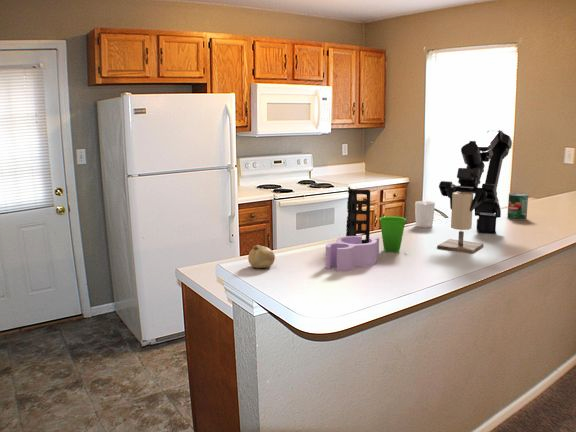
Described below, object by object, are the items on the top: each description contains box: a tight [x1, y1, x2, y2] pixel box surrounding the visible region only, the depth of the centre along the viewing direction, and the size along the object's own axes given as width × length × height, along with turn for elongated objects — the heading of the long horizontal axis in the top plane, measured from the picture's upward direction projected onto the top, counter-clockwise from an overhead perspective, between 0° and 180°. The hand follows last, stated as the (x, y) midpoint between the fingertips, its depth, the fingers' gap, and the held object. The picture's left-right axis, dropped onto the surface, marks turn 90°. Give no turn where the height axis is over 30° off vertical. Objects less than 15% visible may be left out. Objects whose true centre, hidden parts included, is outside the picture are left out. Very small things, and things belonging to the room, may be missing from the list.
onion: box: [247, 244, 276, 269], centre depth 154 cm, size 8×8×7 cm
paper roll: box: [450, 192, 474, 231], centre depth 175 cm, size 6×6×12 cm
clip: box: [325, 234, 380, 272], centre depth 158 cm, size 20×12×7 cm, turn 139°
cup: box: [378, 215, 407, 254], centre depth 172 cm, size 9×9×11 cm
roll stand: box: [436, 230, 485, 254], centre depth 176 cm, size 12×12×6 cm
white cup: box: [414, 200, 436, 228], centre depth 212 cm, size 8×8×10 cm
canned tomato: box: [507, 192, 529, 221], centre depth 226 cm, size 8×8×11 cm
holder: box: [345, 186, 371, 244], centre depth 182 cm, size 11×8×20 cm
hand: (460, 209), depth 174 cm, fingers closed on paper roll, 6 cm apart
